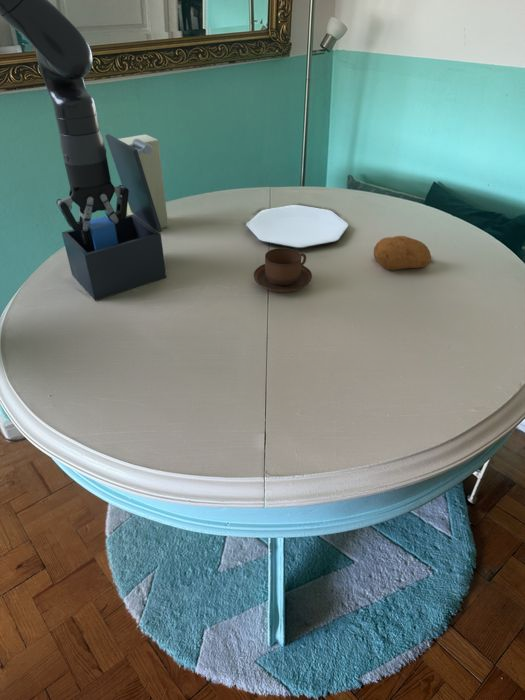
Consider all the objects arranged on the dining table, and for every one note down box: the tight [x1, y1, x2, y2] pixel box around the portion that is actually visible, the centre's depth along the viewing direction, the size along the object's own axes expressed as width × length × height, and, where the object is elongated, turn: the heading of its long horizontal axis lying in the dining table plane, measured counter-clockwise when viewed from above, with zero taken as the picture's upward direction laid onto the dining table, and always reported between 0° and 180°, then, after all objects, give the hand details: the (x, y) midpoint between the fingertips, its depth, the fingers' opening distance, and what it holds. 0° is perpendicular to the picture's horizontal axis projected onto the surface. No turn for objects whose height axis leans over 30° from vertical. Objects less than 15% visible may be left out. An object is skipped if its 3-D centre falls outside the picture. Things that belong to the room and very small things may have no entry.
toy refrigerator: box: [117, 134, 169, 230], centre depth 125 cm, size 8×7×21 cm
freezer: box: [61, 214, 167, 302], centre depth 107 cm, size 16×13×10 cm
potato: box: [373, 235, 432, 271], centre depth 111 cm, size 7×13×7 cm, turn 96°
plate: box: [246, 204, 349, 249], centre depth 128 cm, size 24×24×2 cm
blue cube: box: [89, 216, 118, 250], centre depth 103 cm, size 5×5×5 cm
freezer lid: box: [105, 133, 163, 233], centre depth 103 cm, size 17×13×5 cm
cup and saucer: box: [253, 247, 313, 293], centre depth 106 cm, size 12×12×6 cm
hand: (102, 242), depth 104 cm, fingers closed on blue cube, 4 cm apart
